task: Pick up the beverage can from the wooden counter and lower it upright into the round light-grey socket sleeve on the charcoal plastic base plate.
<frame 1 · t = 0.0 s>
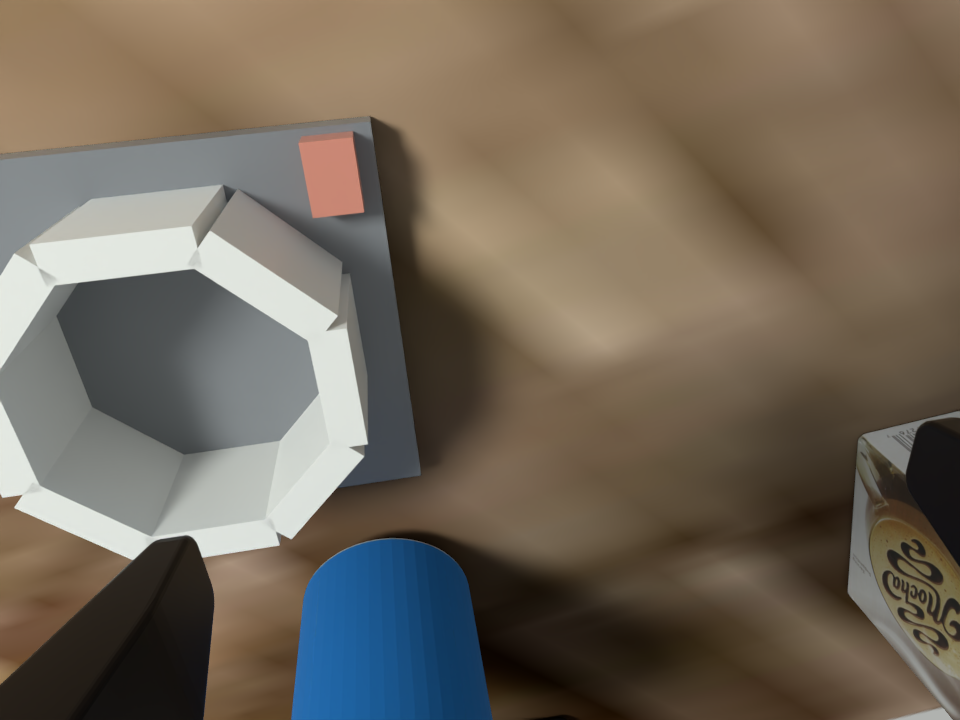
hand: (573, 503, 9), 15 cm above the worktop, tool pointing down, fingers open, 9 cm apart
socket: (209, 332, 22), on the worktop
coffee box: (914, 496, 31), on the worktop
beverage can: (387, 583, 28), on the worktop
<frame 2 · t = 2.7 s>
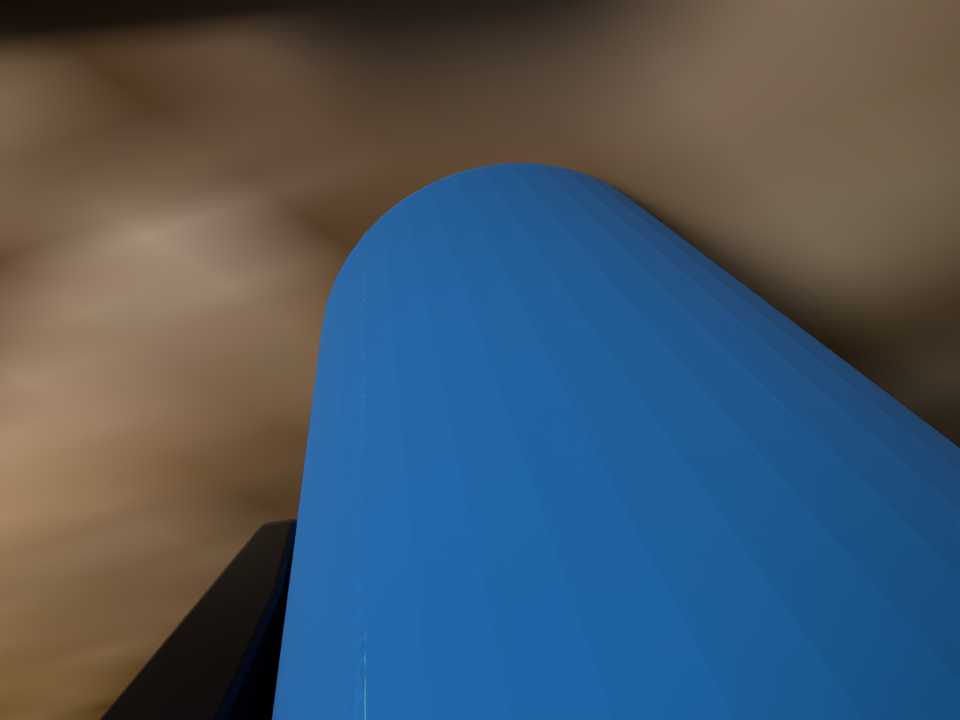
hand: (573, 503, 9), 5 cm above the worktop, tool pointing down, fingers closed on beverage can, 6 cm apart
beverage can: (500, 327, 13), on the worktop, touching gripper
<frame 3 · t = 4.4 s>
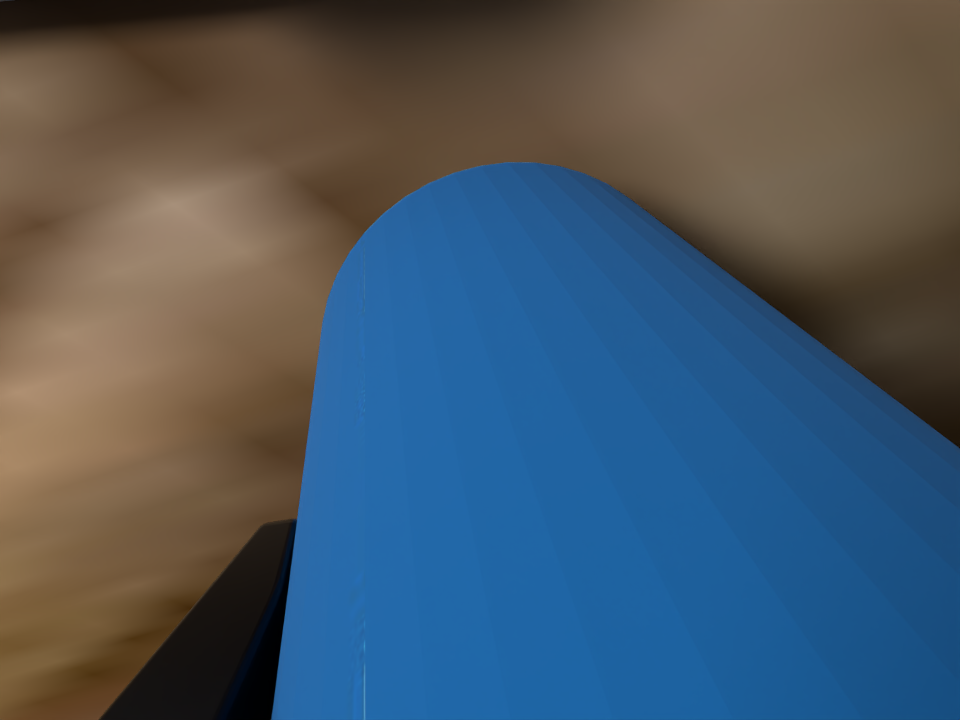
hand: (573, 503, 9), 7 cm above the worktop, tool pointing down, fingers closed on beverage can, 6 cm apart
beverage can: (499, 325, 13), point 2 cm above the worktop, touching gripper
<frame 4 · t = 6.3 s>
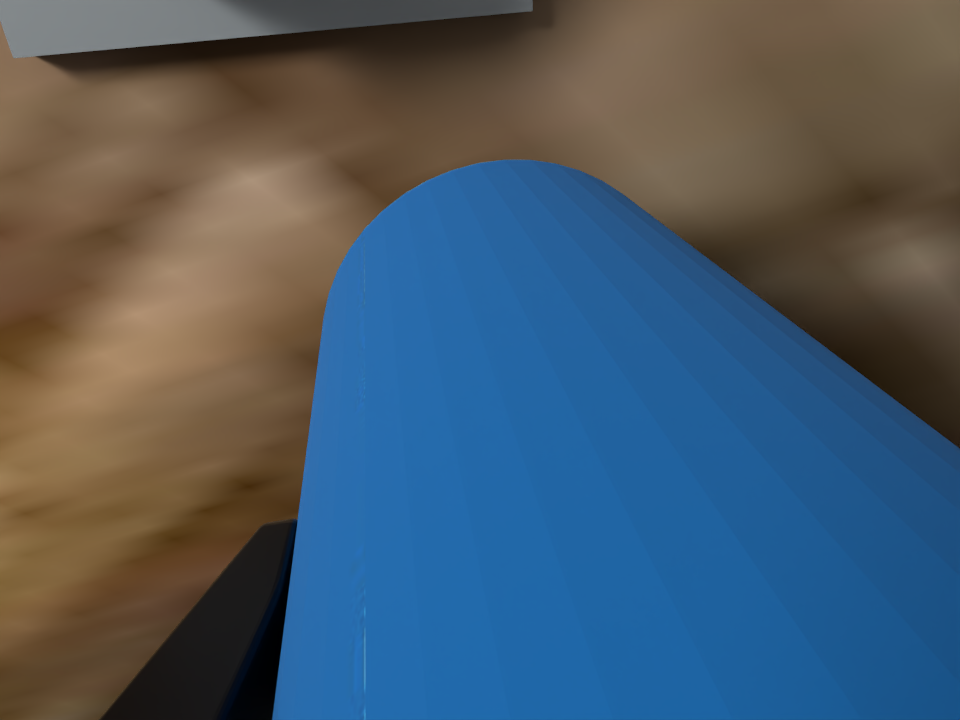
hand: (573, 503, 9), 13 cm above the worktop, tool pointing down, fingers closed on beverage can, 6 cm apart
beverage can: (497, 320, 14), point 7 cm above the worktop, touching gripper
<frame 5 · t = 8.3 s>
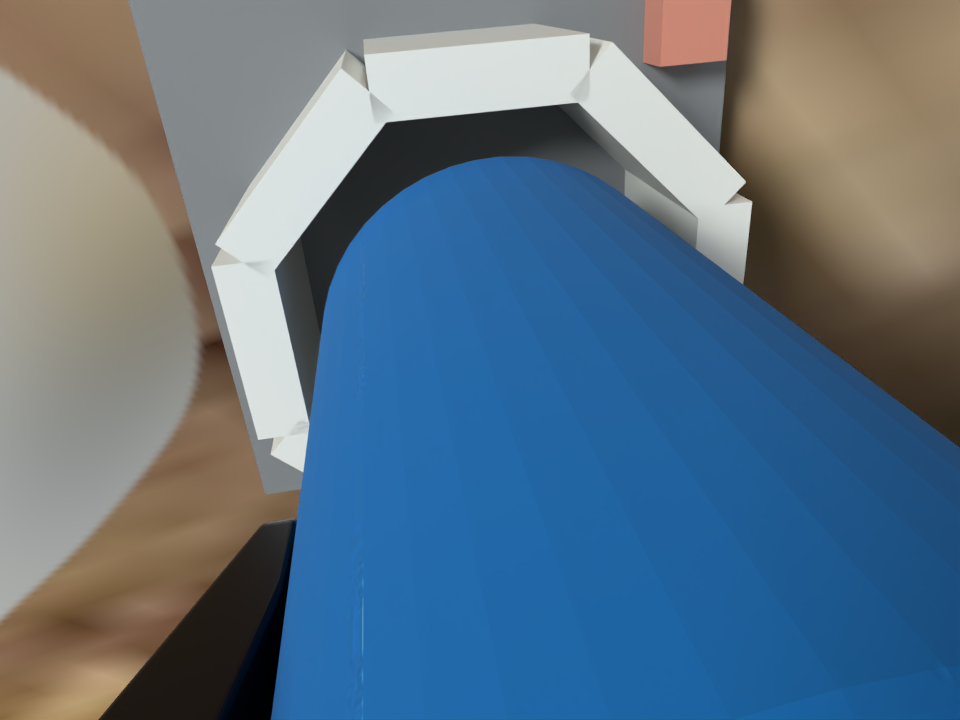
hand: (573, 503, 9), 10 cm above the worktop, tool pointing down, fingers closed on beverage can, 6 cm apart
socket: (463, 240, 17), on the worktop
beverage can: (495, 315, 14), point 4 cm above the worktop, touching gripper
when the fingers open (7 cm above the worktop, at t = 9.8 s): beverage can stays where it is, resting on socket.
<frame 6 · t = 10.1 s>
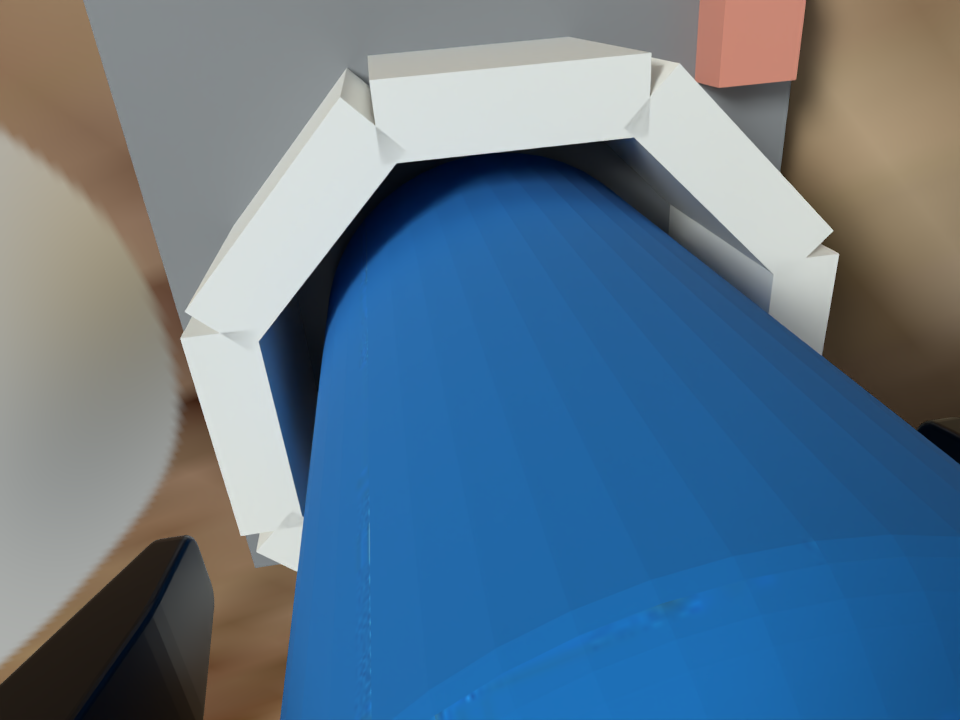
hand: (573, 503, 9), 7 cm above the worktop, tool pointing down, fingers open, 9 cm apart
socket: (481, 283, 15), on the worktop
beverage can: (490, 303, 15), point 1 cm above the worktop, touching socket
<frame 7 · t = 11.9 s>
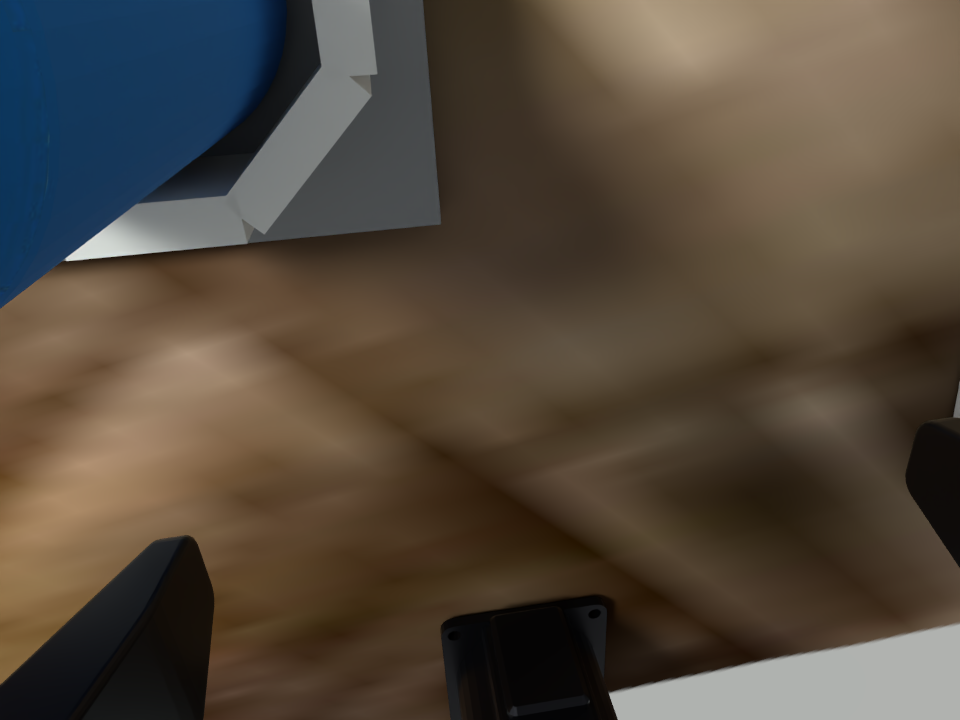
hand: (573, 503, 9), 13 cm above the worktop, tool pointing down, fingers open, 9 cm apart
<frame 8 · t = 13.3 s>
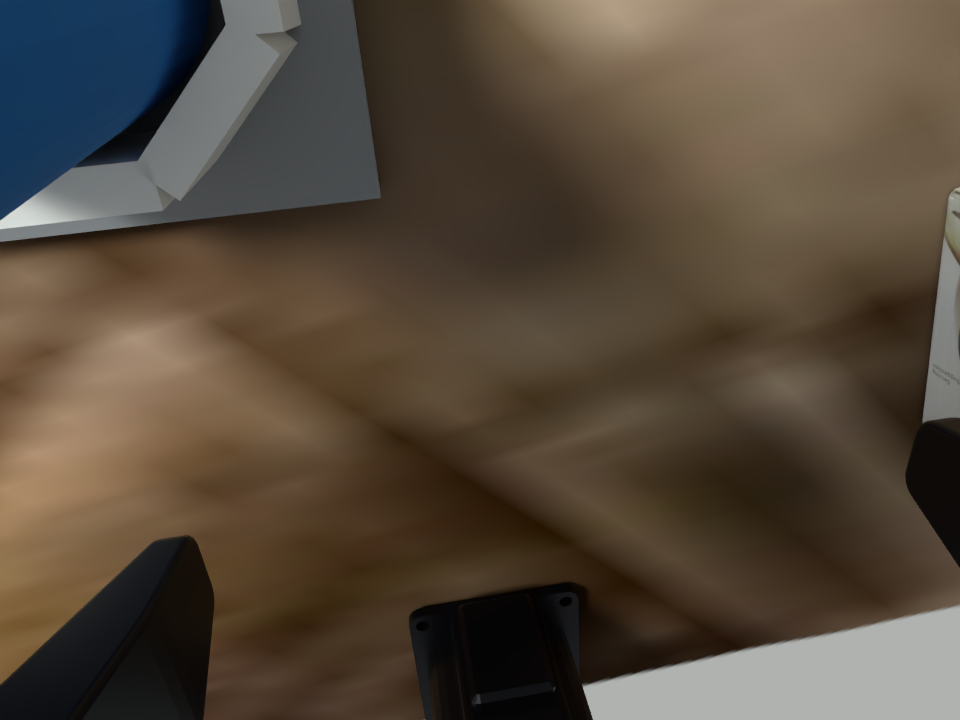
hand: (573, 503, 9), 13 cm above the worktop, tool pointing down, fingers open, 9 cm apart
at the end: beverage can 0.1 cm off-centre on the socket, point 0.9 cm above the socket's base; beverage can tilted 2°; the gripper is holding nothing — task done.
